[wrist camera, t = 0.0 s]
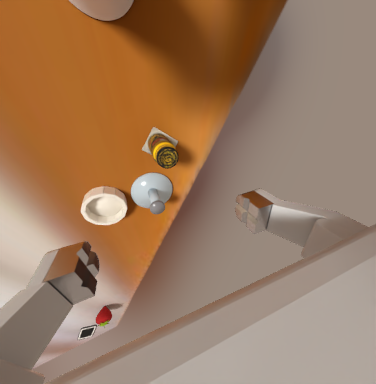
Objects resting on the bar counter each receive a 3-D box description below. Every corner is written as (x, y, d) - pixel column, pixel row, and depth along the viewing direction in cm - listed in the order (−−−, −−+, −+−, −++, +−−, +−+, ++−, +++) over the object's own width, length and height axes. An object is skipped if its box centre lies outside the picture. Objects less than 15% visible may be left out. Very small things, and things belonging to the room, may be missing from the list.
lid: (125, 177, 47) (126, 196, 39) (168, 168, 50) (177, 183, 42) (137, 210, 55) (139, 231, 47) (173, 200, 58) (182, 217, 51)
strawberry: (98, 304, 79) (96, 327, 71) (114, 302, 83) (113, 324, 76) (95, 310, 81) (92, 333, 73) (110, 308, 85) (109, 330, 78)
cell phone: (77, 338, 92) (77, 340, 91) (81, 327, 86) (81, 329, 86) (92, 334, 96) (92, 336, 95) (97, 323, 90) (96, 325, 90)
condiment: (153, 126, 41) (162, 138, 32) (178, 141, 46) (192, 155, 37) (141, 149, 44) (147, 167, 34) (166, 161, 48) (177, 179, 39)
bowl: (76, 192, 44) (72, 200, 41) (119, 182, 46) (119, 189, 43) (94, 220, 51) (92, 229, 48) (130, 210, 54) (131, 218, 51)
